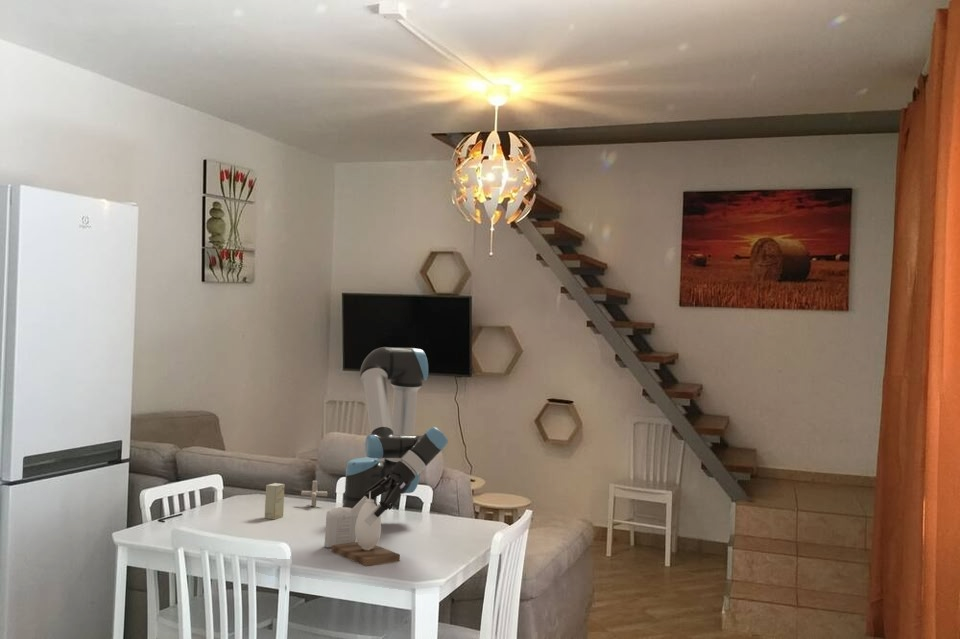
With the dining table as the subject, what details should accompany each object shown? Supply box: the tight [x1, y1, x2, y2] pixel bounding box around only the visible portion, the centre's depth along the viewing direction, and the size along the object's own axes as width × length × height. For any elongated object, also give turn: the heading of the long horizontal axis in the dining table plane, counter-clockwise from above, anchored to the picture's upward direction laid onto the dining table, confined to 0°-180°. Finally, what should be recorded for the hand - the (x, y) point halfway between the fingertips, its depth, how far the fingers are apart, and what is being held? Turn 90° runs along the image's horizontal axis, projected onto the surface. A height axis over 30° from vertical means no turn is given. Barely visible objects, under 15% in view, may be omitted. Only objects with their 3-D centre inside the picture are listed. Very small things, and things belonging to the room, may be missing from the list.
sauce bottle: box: [355, 492, 382, 550], centre depth 262 cm, size 8×8×18 cm
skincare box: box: [264, 482, 286, 520], centre depth 311 cm, size 6×4×12 cm
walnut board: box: [331, 541, 401, 567], centre depth 261 cm, size 20×12×2 cm, turn 40°
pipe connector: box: [300, 480, 328, 507], centre depth 335 cm, size 10×10×10 cm
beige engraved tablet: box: [324, 506, 357, 549], centre depth 273 cm, size 10×4×12 cm, turn 119°
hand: (359, 518), depth 261 cm, fingers open, 13 cm apart
